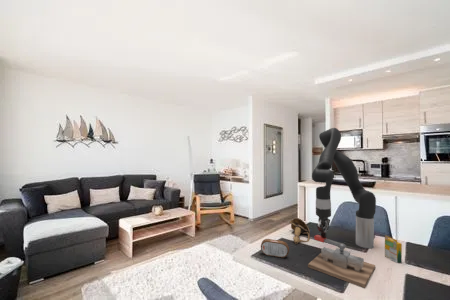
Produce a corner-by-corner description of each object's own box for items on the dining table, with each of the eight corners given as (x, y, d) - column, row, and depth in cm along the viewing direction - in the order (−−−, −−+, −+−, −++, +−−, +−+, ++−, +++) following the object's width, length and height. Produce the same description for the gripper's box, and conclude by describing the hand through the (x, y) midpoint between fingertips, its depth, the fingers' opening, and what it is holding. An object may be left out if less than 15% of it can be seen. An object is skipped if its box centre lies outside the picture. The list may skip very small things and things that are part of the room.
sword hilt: (313, 224, 155) (292, 214, 160) (313, 236, 132) (289, 223, 137) (307, 237, 156) (287, 226, 161) (306, 251, 133) (282, 238, 138)
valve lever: (314, 242, 119) (314, 235, 119) (317, 241, 120) (317, 234, 120) (343, 253, 107) (343, 245, 107) (346, 251, 108) (346, 243, 109)
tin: (289, 256, 120) (289, 241, 120) (288, 259, 117) (288, 243, 117) (261, 252, 125) (261, 237, 125) (260, 255, 122) (260, 239, 122)
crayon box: (402, 262, 114) (402, 240, 114) (397, 263, 114) (397, 240, 114) (389, 256, 121) (389, 234, 121) (384, 256, 121) (384, 235, 121)
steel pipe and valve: (324, 256, 117) (324, 244, 117) (364, 269, 105) (364, 256, 105) (320, 260, 113) (320, 248, 113) (361, 274, 100) (361, 260, 100)
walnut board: (324, 252, 125) (324, 249, 125) (375, 268, 108) (375, 265, 108) (308, 267, 109) (308, 264, 109) (364, 288, 93) (364, 284, 93)
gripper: (321, 203, 126) (321, 233, 127) (310, 208, 117) (311, 240, 118) (335, 205, 121) (335, 237, 121) (325, 210, 112) (326, 245, 112)
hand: (323, 238), depth 119 cm, fingers closed
